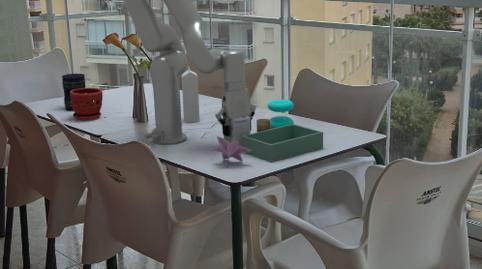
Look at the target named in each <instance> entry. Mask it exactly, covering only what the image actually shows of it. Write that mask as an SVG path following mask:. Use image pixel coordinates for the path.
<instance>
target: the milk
mask: <svg viewBox="0 0 482 269" xmlns="http://www.w3.org/2000/svg"><path fill="white" fill-rule="evenodd" d="M181 91H182V92H181V93H182V94H181V95H182V109H183V111H182V112H183V114H182V115H183V122H184V123H185V124H189V123H193V124H194V123H200V122H201V120H200V119H201V118H200V99H199V96H200V95H199V76H198V74H197V72H194V71H192V70H191V68H190V66H189V65H188V68H187V70H186V72H185V73H184V74H182V75H181Z"/></svg>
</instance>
